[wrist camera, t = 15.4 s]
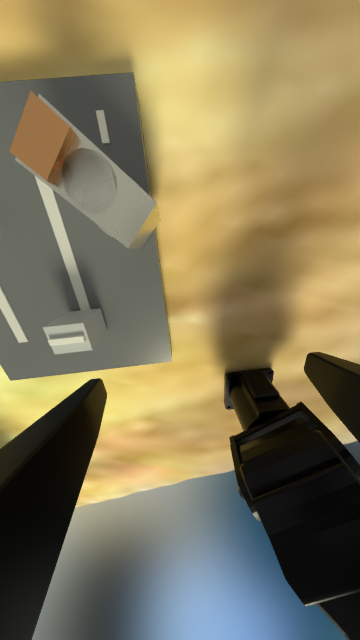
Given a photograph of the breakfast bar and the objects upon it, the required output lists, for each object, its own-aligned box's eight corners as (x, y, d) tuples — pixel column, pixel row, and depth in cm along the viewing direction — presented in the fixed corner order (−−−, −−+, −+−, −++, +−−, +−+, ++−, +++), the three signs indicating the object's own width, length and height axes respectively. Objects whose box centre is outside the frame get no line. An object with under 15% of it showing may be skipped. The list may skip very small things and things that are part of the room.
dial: (160, 219, 13) (156, 199, 8) (141, 249, 14) (126, 248, 9) (90, 156, 12) (30, 82, 6) (72, 194, 12) (5, 154, 7)
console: (171, 351, 21) (172, 362, 19) (24, 368, 20) (8, 381, 18) (138, 99, 12) (132, 69, 10) (-117, 118, 12) (-176, 91, 10)
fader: (107, 330, 17) (90, 352, 13) (76, 334, 17) (52, 356, 13) (100, 308, 16) (81, 324, 12) (68, 311, 16) (39, 329, 12)
